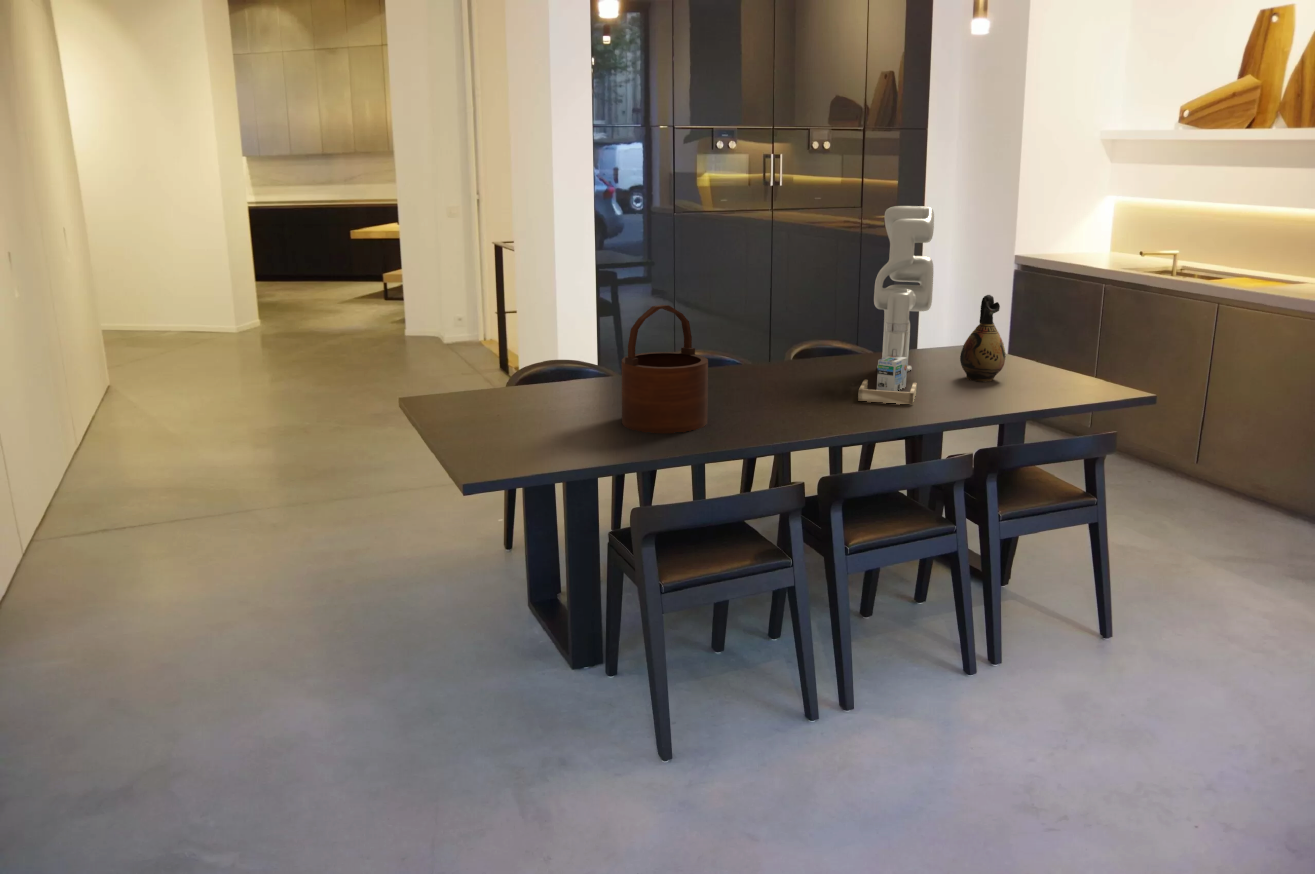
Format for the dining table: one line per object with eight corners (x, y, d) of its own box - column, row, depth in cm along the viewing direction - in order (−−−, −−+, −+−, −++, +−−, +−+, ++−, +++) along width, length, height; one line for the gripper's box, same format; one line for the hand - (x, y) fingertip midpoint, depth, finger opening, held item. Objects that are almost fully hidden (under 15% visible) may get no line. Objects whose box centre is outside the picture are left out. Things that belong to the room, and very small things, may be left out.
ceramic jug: (1009, 384, 360) (1017, 299, 353) (965, 383, 361) (972, 298, 353) (994, 374, 377) (1002, 292, 369) (952, 373, 377) (959, 292, 369)
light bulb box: (894, 393, 346) (896, 361, 343) (875, 390, 350) (877, 359, 347) (906, 387, 355) (908, 357, 352) (888, 385, 358) (890, 354, 356)
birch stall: (863, 391, 349) (864, 379, 348) (916, 394, 344) (916, 382, 343) (858, 401, 334) (858, 389, 333) (912, 405, 329) (913, 393, 328)
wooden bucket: (725, 422, 308) (727, 306, 299) (664, 438, 291) (664, 315, 282) (665, 408, 326) (665, 298, 317) (604, 422, 309) (602, 306, 299)
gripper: (888, 323, 363) (885, 374, 368) (884, 330, 350) (880, 383, 354) (909, 325, 361) (906, 375, 366) (906, 331, 347) (903, 384, 352)
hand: (893, 379), depth 360 cm, fingers closed
